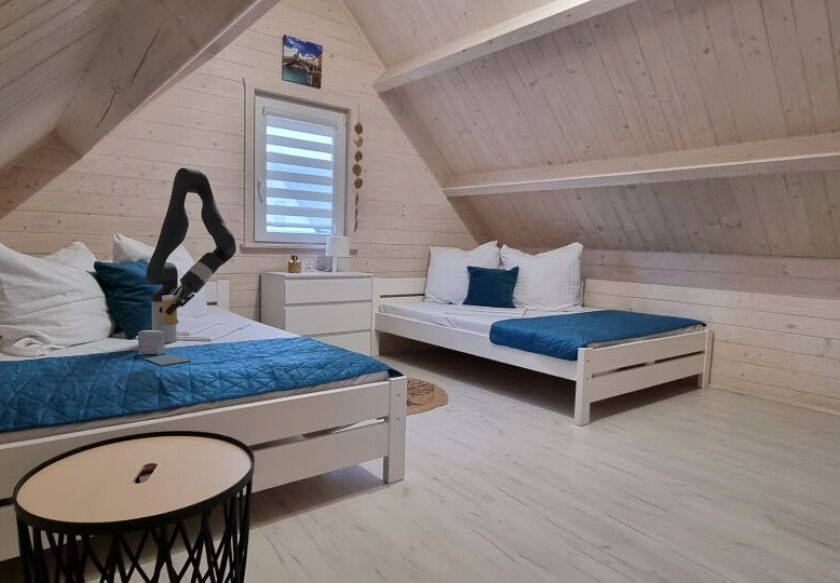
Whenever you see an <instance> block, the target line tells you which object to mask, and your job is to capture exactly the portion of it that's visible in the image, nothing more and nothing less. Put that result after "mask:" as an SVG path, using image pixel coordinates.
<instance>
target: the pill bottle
mask: <svg viewBox="0 0 840 583" xmlns="http://www.w3.org/2000/svg"><path fill="white" fill-rule="evenodd" d="M175 297H176V295H165V296H162V315H163V325H175V324H177V325H178V308H177V309H176V310H175V311H174V312H173V313H172V314H171V315H168V314H167V313H165V311H166V309H167V308H168V307H169V306H170V305H171V304H173V302H174V300H175Z"/></svg>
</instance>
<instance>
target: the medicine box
mask: <svg viewBox="0 0 840 583" xmlns="http://www.w3.org/2000/svg"><path fill="white" fill-rule="evenodd" d="M137 341H138V342H137V344H138V347H137V348H138V349H137V350H138V354H139V353H142V354H157V355H156V356H160V355H163V354H165V352H166V349H165V348H166V347H165V344H166V343H164V331H159V330H152V329H145V330H140V331H138V332H137ZM162 353H163V354H162ZM159 354H160V355H159Z"/></svg>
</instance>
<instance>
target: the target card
mask: <svg viewBox="0 0 840 583" xmlns="http://www.w3.org/2000/svg"><path fill="white" fill-rule="evenodd" d="M145 359H146V360H149V361H151V362H153V363H152V364H154V363H156V364H155V365H157V364H158V365H157V366H159V365H160V367H167V366H172V365H173V364H174V365H178V364H179V363H180V364H185V362H187V363H191V362H192V360H191V359H189V358H186V357H183V356H181V355H180V356H179V355H177V354H174V353H173V354H172V353H171V354H165V355H156V356H152V357H145V358H144V360H145ZM146 360H145V361H146ZM149 361H148V362H149ZM151 362H150V363H151ZM180 364H179V365H180Z"/></svg>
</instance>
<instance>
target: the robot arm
mask: <svg viewBox="0 0 840 583" xmlns="http://www.w3.org/2000/svg"><path fill="white" fill-rule="evenodd" d="M171 189H172V190H171V194H170V198H169V203H168V207H167V211H166V214H165V217H164V219H163V223H162V226H161V229H160V233H159V237H158V240H157V242H156V246H155V248H154V251H153V253H152V255H151V257H150V260H149V262H148V265H147V267H146V273H145V278H146V281H147V283H148V284H149V285H152V286H161V288H160V289H159V290H158V291H155V292H154V293H153V294H151V297H150V298H151V330H159V331H164V343H165V344H167V343H168V344H169V343H173V342H177V339H178V335H177V330H178V329H177V325H178V323H177V324H175V325H163V315H162V296H165V295H176V297H175V300H174V302H173V304H171V305H170V306H169V307H168V308H167V309H166V311H165V313H167V314H168V315H171V314H172V313H173V312H174V311H175V310H176V309H177V310H178V309H179V308H181V307H184V306H185V305H186V304H187V303H188V302H190V301H191V300H192V299H193V298H194V297H195V295H196V294H197V293H199V292H200V291H201V289H202V288H203V287H204V286H205V285H206V284H207V283H208V282H209V281H210V279H211V278H212V276H213V275H214V274H215V272H217V271H218V270H219V269H220V267H222V266H223V265H224V264H225V263H227V262H228V261H230V260H231V259H232V258H233V257H234V255H235V254H236V252H237V245H236V240H235V239H236V238H235V237H234V235H233V233H232V232H231V231H230V229H229V228H228V226H227V224H226V222H225V220H224V218H223V216H222V215H221V213H220V211H219V209H218V206H217V203H216V200H215V196H214V193H213V190H212V188H211V183H210V181H209V178H208V177H207V174H206V173H205V171H203V170H200V169H193V168H188V167H181V168H179V169H178V170H177V172H176V173H175V176H174V177H173V184H172V188H171ZM188 193H190V194H191V193H192V194H197V195H198V197H199V198H200V200H201V203H202V205H201V211H200V217H201V221H202V223H203V225H204V227H205V228H206V231H207V233H208V234H209V235H210V236H211V237H212V239H213V241H214V243H215V248H214V250H213V251H212V252H210V251H208V252H206V253H204V254H203V255H202V257H200V259H199V260H197V262H196V263H194V264H193V265H192V266H191V267H190V268H189V269H188V270H187V271H186V273H185V274H184V275H183V276H182V277H180V279H179V273H178V272H179V271H178V268H177V266H176V265H175V263H173V262H167V260H168V259H169V257H170V255H172V253H173V252H174V251H175V250H176V249H178V247H180V246H181V244H182V243H183V242H184V240H185V238H186V237H187V233H188V229H189V227H190V226H189V225H190V220H189V218H188V215H187V214H188V213H187V211H186V207H185V204H186V203H185V202H186V197H187V195H188ZM179 282H180V286H178V284H179Z"/></svg>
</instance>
